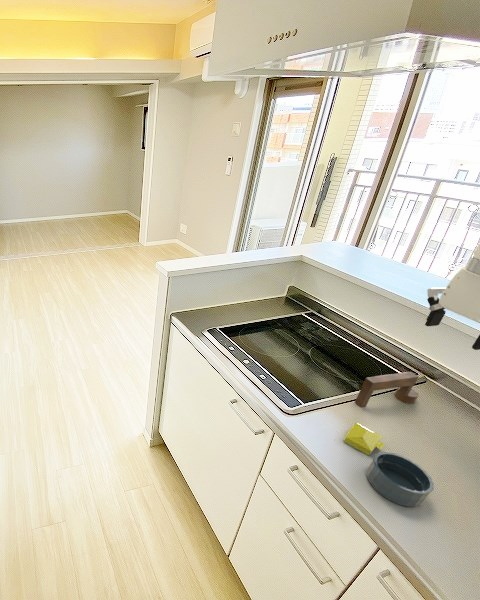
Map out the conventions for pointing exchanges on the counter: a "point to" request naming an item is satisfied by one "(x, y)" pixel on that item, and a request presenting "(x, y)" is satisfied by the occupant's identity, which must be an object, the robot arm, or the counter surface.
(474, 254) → the robot arm
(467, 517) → the counter surface
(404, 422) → the counter surface
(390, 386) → the brown drawer pull
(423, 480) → the bowl
